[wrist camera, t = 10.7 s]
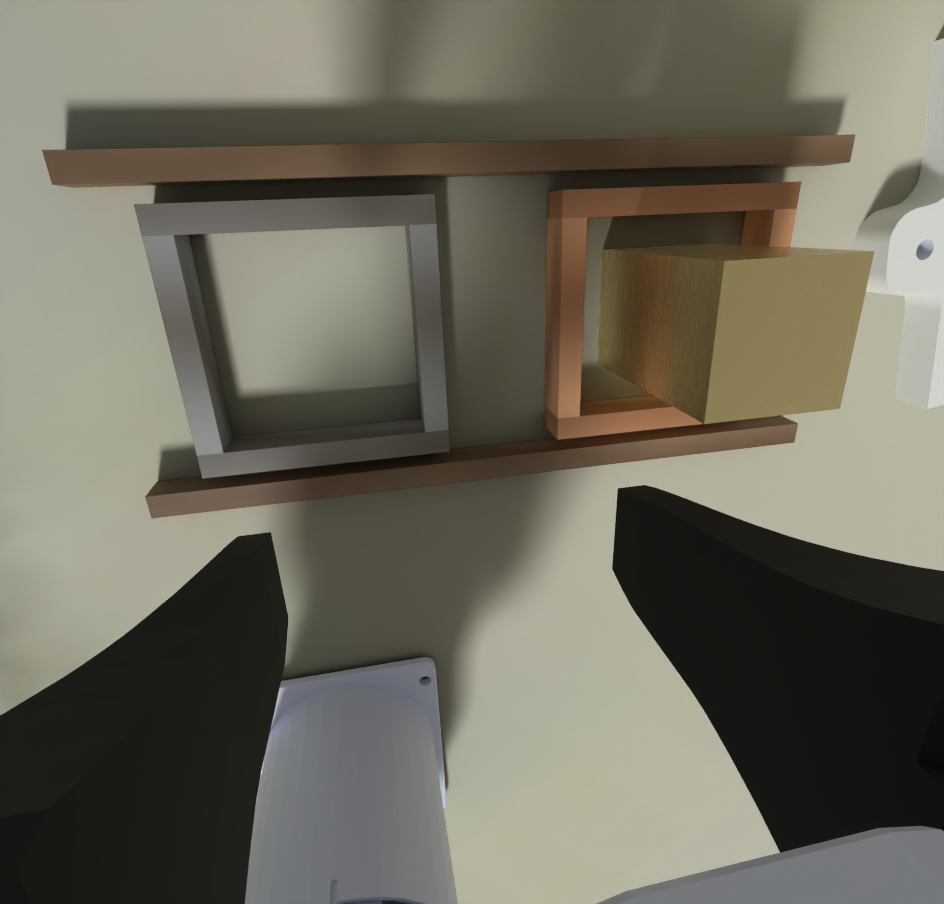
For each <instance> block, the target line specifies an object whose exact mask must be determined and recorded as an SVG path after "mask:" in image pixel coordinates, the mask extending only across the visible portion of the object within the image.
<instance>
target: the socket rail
mask: <svg viewBox="0 0 944 904" xmlns="http://www.w3.org/2000/svg"><path fill="white" fill-rule="evenodd" d="M854 139H855V135H808V136H756V137H704V138H651V139H599V140H546V141H494V142H442V143H389V144H337V145H284V146H232V147H179V148H127V149H75V150H42V152H43V155H44V158H45V162H46V165H47V168H48V172H49V175H50V178H51V182H52V185H59V186H66V187H107V186H142V185H176V184H210V183H245V182H279V181H314V180H348V179H383V178H417V177H451V176H486V175H520V174H555V173H589V172H624V171H658V170H692V169H727V168H761V167H796V166H824V165H832V164H840V163H847V162H850V159H851V154H852V149H853V144H854ZM800 186H801V182H777V183H748V184H719V185H689V186H660V187H630V188H601V189H572V190H559V191H553V192H548V196H547V278H546V361H545V427H546V428H547V429H548V430H549V431H550V432H551V433H552V434H553V435H554V436H555V438H553V439H544V440H534V441H525V442H516V443H507V444H498V445H488V446H479V447H470V448H461V449H452V450H450V444H449V427H448V410H447V393H446V376H445V359H444V342H443V325H442V308H441V291H440V274H439V257H438V240H437V223H436V206H435V194H425V195H395V196H366V197H336V198H307V199H278V200H248V201H219V202H189V203H160V204H134V207H135V211H136V215H137V219H138V223H139V227H140V231H141V235H142V239H143V243H144V247H145V251H146V255H147V259H148V263H149V267H150V271H151V275H152V279H153V283H154V287H155V291H156V295H157V299H158V303H159V307H160V311H161V315H162V319H163V323H164V327H165V331H166V335H167V339H168V343H169V347H170V351H171V355H172V359H173V363H174V367H175V371H176V375H177V379H178V383H179V387H180V391H181V395H182V399H183V403H184V407H185V411H186V415H187V419H188V423H189V427H190V431H191V435H192V439H193V443H194V447H195V451H196V455H197V459H198V463H199V467H200V471H201V475H202V477H194V478H185V479H175V480H166V481H157V483H156V484H155V485H154V486H153V488H152V489H151V490H150V492H149V493H148V494H147V495H146V501H147V504H148V507H149V511H150V514H151V518H159V517H167V516H176V515H184V514H193V513H201V512H210V511H218V510H226V509H235V508H243V507H252V506H260V505H269V504H277V503H286V502H294V501H303V500H311V499H319V498H328V497H336V496H345V495H353V494H362V493H370V492H379V491H387V490H396V489H404V488H412V487H421V486H429V485H438V484H446V483H455V482H463V481H472V480H480V479H489V478H497V477H505V476H514V475H522V474H531V473H539V472H548V471H556V470H565V469H573V468H581V467H590V466H598V465H607V464H615V463H624V462H632V461H641V460H649V459H658V458H666V457H674V456H683V455H691V454H700V453H708V452H717V451H725V450H734V449H742V448H751V447H759V446H767V445H776V444H784V443H793V442H794V441H795V436H796V431H797V426H798V423H796V422H793V421H791V420H789V419H787V418H785V417H782V416H771V417H762V418H753V419H745V420H736V421H727V422H718V423H710V424H703V423H701V422H700V421H698V420H696V419H694V418H693V417H691V416H689V415H687V414H686V413H684V412H682V411H680V410H679V409H677V408H675V407H673V406H671V405H670V404H668V403H666V402H664V401H663V400H661V399H659V398H657V397H656V396H654V395H652V396H642V397H632V398H621V399H611V400H601V401H591V402H581V403H580V394H581V368H582V341H583V314H584V288H585V261H586V235H587V217H610V216H634V215H657V214H681V213H704V212H728V211H746V213H745V220H744V227H743V235H742V242H741V245H753V246H774V247H790V244H791V239H792V233H793V227H794V221H795V215H796V209H797V203H798V198H799V192H800ZM400 225H406V238H407V251H408V263H409V276H410V289H411V301H412V314H413V327H414V339H415V352H416V365H417V378H418V390H419V403H420V416H421V418H419V419H409V420H398V421H388V422H378V423H368V424H358V425H348V426H338V427H327V428H317V429H307V430H297V431H287V432H277V433H267V434H256V435H246V436H236V437H233V435H232V431H231V426H230V422H229V417H228V413H227V408H226V403H225V399H224V394H223V390H222V385H221V381H220V376H219V372H218V367H217V362H216V358H215V353H214V349H213V344H212V340H211V335H210V331H209V326H208V321H207V317H206V312H205V308H204V303H203V299H202V294H201V290H200V285H199V280H198V276H197V271H196V267H195V262H194V258H193V253H192V249H191V244H190V239H189V234H212V233H235V232H259V231H282V230H306V229H329V228H353V227H376V226H400Z"/></svg>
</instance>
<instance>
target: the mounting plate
mask: <svg viewBox="0 0 944 904" xmlns="http://www.w3.org/2000/svg"><path fill="white" fill-rule="evenodd" d="M854 250H857V251H875V252H874V256H873V261H872V265H871V270H870V274H869V279H868V283H867V288H866V291H868V292H876V293H884V294H891V295H899V296H904V298H905V314H904V323H903V332H902V341H901V350H900V359H899V368H898V377H897V386H896V395H895V399H898V400H901V401H904V402H907V403H910V404H913V405H916V406H919V407H922V408H925V409H930V408H933V407H937V406H940V405H944V38H943V39H940V40H937V41H935V44H934V53H933V62H932V71H931V80H930V89H929V98H928V107H927V116H926V125H925V134H924V143H923V152H922V161H921V170H920V175H919V179H918V182H917V184H916V186H915V188H914V190H913V191H912V193H911V194H910V195H909V196H908V197H907V198H906V199H905V200H904V201H902V202H901V203H900V204H897V205H895V206H891V207H887V208H883V209H880V210H878V211H875V212H873V213H872V214H871V215H869V216H868V217H867V218H866V219H865V220H864V221H863V223H862V224H861V226H860V228H859V230H858V232H857V235H856V239H855V245H854Z"/></svg>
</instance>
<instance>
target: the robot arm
mask: <svg viewBox="0 0 944 904" xmlns="http://www.w3.org/2000/svg"><path fill="white" fill-rule="evenodd" d="M612 569H613V571H614V573H615V575H616V577H617V579H618V581H619V583H620V586H621V588H622V590H623V591H624V593H625V595H626V597H627V599H628V601H629V603H630V605H631V606H632V608H633V609H634V611H635V612H636V614H637V615H638V617H639V618H640V620H641V621H642V622H643V624H644V625H645V627H646V628H647V630H648V631H649V632H650V634H651V635H652V637H653V638H654V640H655V641H656V642H657V644H658V645H659V646H660V648H661V649H662V651H663V652H664V653H665V655H666V656H667V658H668V659H669V660H670V662H671V663H672V665H673V666H674V667H675V669H676V670H677V672H678V673H679V674H680V676H681V677H682V678H683V680H684V681H685V683H686V684H687V685H688V687H689V688H690V690H691V691H692V693H693V694H694V696H695V697H696V699H697V700H698V702H699V703H700V705H701V706H702V708H703V709H704V711H705V713H706V714H707V716H708V718H709V720H710V721H711V723H712V725H713V727H714V728H715V730H716V732H717V734H718V735H719V737H720V739H721V741H722V742H723V744H724V746H725V748H726V749H727V751H728V753H729V755H730V756H731V758H732V760H733V762H734V764H735V766H736V768H737V769H738V771H739V773H740V775H741V777H742V779H743V781H744V783H745V784H746V786H747V788H748V790H749V792H750V794H751V796H752V798H753V799H754V801H755V803H756V805H757V807H758V809H759V811H760V813H761V815H762V817H763V819H764V821H765V823H766V825H767V827H768V829H769V831H770V833H771V835H772V837H773V839H774V841H775V843H776V845H777V847H778V849H779V851H780V853H777V854H773V855H769V856H765V857H761V858H757V859H753V860H749V861H745V862H741V863H737V864H733V865H729V866H725V867H721V868H717V869H713V870H709V871H705V872H701V873H697V874H693V875H689V876H685V877H681V878H677V879H673V880H669V881H665V882H661V883H657V884H653V885H649V886H645V887H641V888H637V889H633V890H629V891H626V892H623V893H621V894H619V895H616V896H614V897H611V898H609V899H607V900H604V901H602V902H599V903H597V904H944V571H939V570H933V569H927V568H921V567H915V566H909V565H904V564H899V563H894V562H889V561H884V560H879V559H874V558H869V557H865V556H860V555H856V554H852V553H847V552H843V551H840V550H836V549H832V548H828V547H825V546H821V545H817V544H813V543H810V542H806V541H803V540H799V539H796V538H793V537H789V536H786V535H783V534H780V533H777V532H774V531H771V530H768V529H765V528H762V527H759V526H756V525H754V524H751V523H748V522H745V521H742V520H740V519H737V518H734V517H732V516H729V515H726V514H724V513H721V512H719V511H716V510H713V509H711V508H708V507H706V506H703V505H700V504H698V503H695V502H693V501H690V500H688V499H685V498H682V497H680V496H677V495H674V494H672V493H669V492H666V491H663V490H660V489H657V488H654V487H650V486H646V485H642V486H634V487H626V488H619V489H618V495H617V509H616V524H615V538H614V553H613V567H612ZM287 629H288V614H287V609H286V604H285V599H284V594H283V590H282V585H281V580H280V575H279V570H278V565H277V560H276V556H275V551H274V546H273V541H272V536H271V532H270V533H262V534H254V535H246V536H238V537H237V538H236V539H234V540H233V541H232V542H231V543H230V544H228V545H227V546H226V547H225V548H224V549H223V550H222V551H221V552H220V553H219V554H217V555H216V556H215V557H214V558H213V559H212V560H211V561H210V562H209V563H208V564H207V565H206V566H205V567H204V568H202V569H201V570H200V571H199V572H198V573H197V574H196V575H195V576H194V577H193V578H192V579H190V580H189V581H188V582H187V583H186V584H185V585H184V586H183V587H182V588H181V589H179V590H178V591H177V592H176V593H175V594H174V595H173V596H171V597H170V598H169V599H168V600H167V601H165V602H164V603H163V604H162V605H161V606H159V607H158V608H157V609H156V610H155V611H153V612H152V613H151V614H150V615H149V616H147V617H146V618H145V619H144V620H142V621H141V622H140V623H139V624H138V625H136V626H135V627H134V628H133V629H131V630H130V631H129V632H128V633H126V634H125V635H124V636H122V637H121V638H120V639H118V640H117V641H116V642H114V643H113V644H112V645H110V646H109V647H107V648H106V649H105V650H103V651H102V652H100V653H99V654H97V655H96V656H95V657H93V658H92V659H90V660H89V661H87V662H86V663H84V664H83V665H82V666H80V667H79V668H77V669H76V670H74V671H73V672H71V673H70V674H68V675H67V676H65V677H63V678H62V679H60V680H58V681H57V682H55V683H53V684H52V685H50V686H48V687H47V688H45V689H44V690H42V691H40V692H39V693H37V694H35V695H34V696H32V697H30V698H29V699H27V700H25V701H24V702H22V703H20V704H19V705H17V706H16V707H14V708H12V709H11V710H9V711H7V712H6V713H4V714H2V715H0V904H458V902H457V895H456V889H455V882H454V875H453V869H452V862H451V855H450V848H449V842H448V835H447V828H446V821H445V815H444V808H445V807H446V805H447V799H446V787H445V775H444V763H443V751H442V739H441V727H440V715H439V703H438V691H437V679H436V668H435V664H434V661H433V660H432V659H430V658H427V657H422V658H416V659H410V660H404V661H398V662H392V663H386V664H380V665H374V666H368V667H362V668H356V669H350V670H345V671H339V672H333V673H327V674H321V675H315V676H309V677H303V678H297V679H291V680H285V681H281V679H282V674H283V669H284V664H285V654H286V643H287ZM424 676H428V678H426V679H421V678H422V677H424ZM260 775H261V780H260ZM259 781H260V785H259ZM258 787H259V791H258ZM257 792H258V797H257ZM256 798H257V803H256ZM255 805H256V808H255Z"/></svg>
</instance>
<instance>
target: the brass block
mask: <svg viewBox="0 0 944 904" xmlns="http://www.w3.org/2000/svg"><path fill="white" fill-rule="evenodd" d="M874 252H875V251H857V250H836V249H815V248H794V247H774V246H753V245H732V244H711V243H706V244H689V245H672V246H655V247H638V248H621V249H603V250H602V271H601V294H600V317H599V340H598V362H597V363H598V364H599V365H601V366H603V367H605V368H606V369H608V370H610V371H612V372H614V373H615V374H617V375H619V376H621V377H622V378H624V379H626V380H628V381H629V382H631V383H633V384H635V385H636V386H638V387H640V388H642V389H643V390H645V391H647V392H649V393H650V394H652V395H654V396H656V397H657V398H659V399H661V400H663V401H664V402H666V403H668V404H670V405H671V406H673V407H675V408H677V409H679V410H680V411H682V412H684V413H686V414H687V415H689V416H691V417H693V418H694V419H696V420H698V421H700V422H701V423H703V424H710V423H718V422H727V421H736V420H745V419H753V418H762V417H771V416H780V415H788V414H797V413H806V412H814V411H823V410H832V409H840V406H841V401H842V396H843V392H844V387H845V383H846V378H847V374H848V369H849V365H850V360H851V356H852V351H853V347H854V342H855V338H856V333H857V329H858V324H859V320H860V315H861V311H862V306H863V302H864V297H865V292H866V288H867V283H868V279H869V274H870V270H871V265H872V261H873V256H874Z"/></svg>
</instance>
